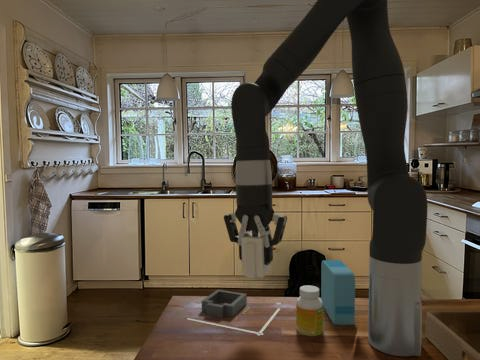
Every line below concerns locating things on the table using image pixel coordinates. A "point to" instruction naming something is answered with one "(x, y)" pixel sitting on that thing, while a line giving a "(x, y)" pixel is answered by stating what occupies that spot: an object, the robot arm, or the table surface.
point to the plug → (253, 256)
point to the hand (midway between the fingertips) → (255, 262)
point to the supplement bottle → (309, 311)
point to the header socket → (226, 309)
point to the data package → (338, 292)
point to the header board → (241, 329)
